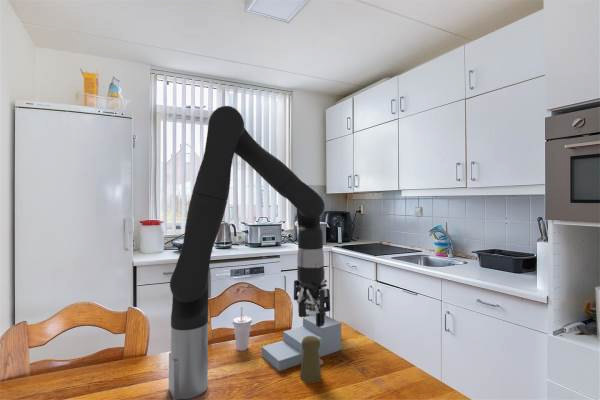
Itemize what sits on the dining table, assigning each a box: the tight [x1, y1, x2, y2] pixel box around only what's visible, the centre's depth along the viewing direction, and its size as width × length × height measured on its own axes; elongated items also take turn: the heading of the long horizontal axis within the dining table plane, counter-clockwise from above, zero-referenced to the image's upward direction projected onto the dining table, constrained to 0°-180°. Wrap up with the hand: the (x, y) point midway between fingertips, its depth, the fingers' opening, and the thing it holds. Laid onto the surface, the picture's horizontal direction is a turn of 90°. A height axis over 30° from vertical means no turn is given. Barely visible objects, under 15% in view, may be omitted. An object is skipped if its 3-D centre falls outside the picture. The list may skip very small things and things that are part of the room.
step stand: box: [261, 314, 342, 372], centre depth 103 cm, size 24×11×9 cm, turn 124°
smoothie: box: [232, 306, 253, 352], centre depth 106 cm, size 6×6×14 cm
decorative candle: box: [305, 268, 328, 317], centre depth 121 cm, size 9×9×25 cm
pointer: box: [319, 357, 324, 366], centre depth 97 cm, size 2×4×1 cm, turn 34°
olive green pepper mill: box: [299, 336, 322, 384], centre depth 89 cm, size 6×6×11 cm
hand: (310, 321), depth 89 cm, fingers open, 8 cm apart
